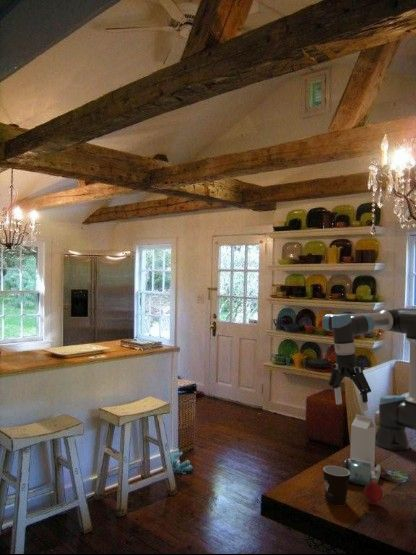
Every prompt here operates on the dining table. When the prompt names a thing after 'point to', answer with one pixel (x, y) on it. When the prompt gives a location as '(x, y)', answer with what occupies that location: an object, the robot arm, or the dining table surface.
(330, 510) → the dining table surface
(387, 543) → the dining table surface
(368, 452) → the milk carton
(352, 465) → the motor
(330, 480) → the coffee mug
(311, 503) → the dining table surface
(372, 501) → the onion
